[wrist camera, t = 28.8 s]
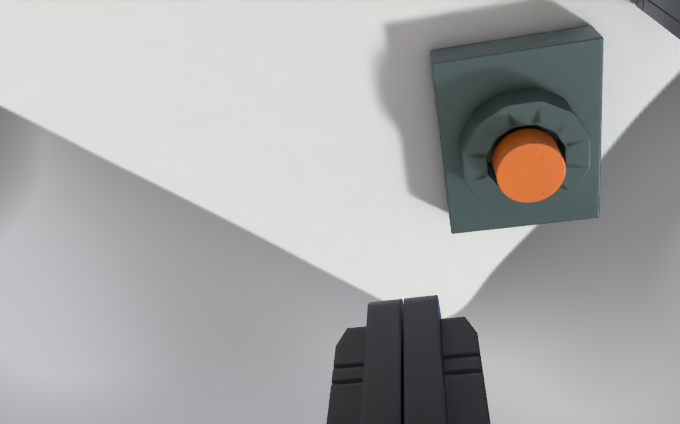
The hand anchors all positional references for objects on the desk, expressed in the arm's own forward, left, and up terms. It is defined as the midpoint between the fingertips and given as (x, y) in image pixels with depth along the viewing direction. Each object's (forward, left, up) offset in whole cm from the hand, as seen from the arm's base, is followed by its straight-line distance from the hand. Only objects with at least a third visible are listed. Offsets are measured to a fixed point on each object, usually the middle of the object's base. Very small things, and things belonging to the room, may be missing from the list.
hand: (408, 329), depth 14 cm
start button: (+6, +5, -18) cm, 20 cm away
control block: (+6, +5, -22) cm, 23 cm away
